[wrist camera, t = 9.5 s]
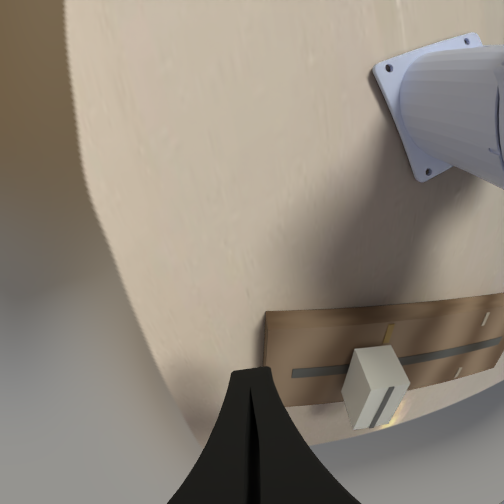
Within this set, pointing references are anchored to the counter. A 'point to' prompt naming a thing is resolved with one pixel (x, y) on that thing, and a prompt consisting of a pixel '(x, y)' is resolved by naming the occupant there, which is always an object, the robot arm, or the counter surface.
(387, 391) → the fader knob
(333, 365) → the fader board
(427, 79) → the robot arm
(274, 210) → the counter surface
